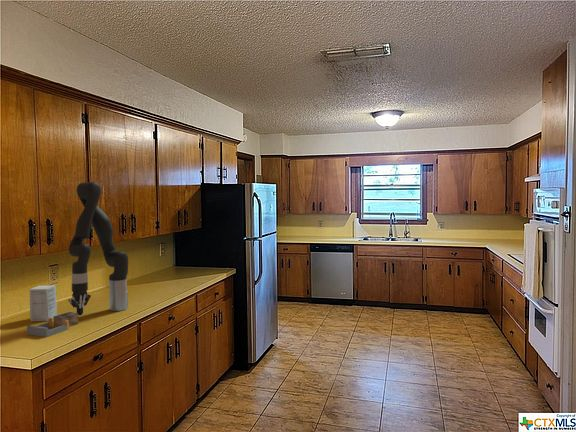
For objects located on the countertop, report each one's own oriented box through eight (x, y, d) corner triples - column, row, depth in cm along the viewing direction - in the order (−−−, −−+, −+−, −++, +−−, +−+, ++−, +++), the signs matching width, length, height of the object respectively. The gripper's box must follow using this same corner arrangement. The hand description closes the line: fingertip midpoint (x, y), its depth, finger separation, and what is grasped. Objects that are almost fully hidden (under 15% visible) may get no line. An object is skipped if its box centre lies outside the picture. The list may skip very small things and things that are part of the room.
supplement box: (57, 316, 228) (56, 285, 228) (48, 321, 219) (47, 288, 218) (39, 316, 228) (38, 285, 227) (29, 321, 219) (28, 289, 218)
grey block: (69, 322, 217) (69, 311, 217) (78, 324, 214) (77, 313, 214) (53, 327, 209) (53, 316, 208) (62, 329, 206) (61, 317, 206)
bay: (49, 326, 210) (49, 317, 210) (69, 329, 206) (68, 320, 206) (27, 334, 198) (26, 325, 198) (46, 337, 194) (46, 327, 194)
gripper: (84, 279, 227) (84, 311, 227) (63, 283, 215) (63, 317, 215) (95, 280, 225) (95, 312, 225) (75, 284, 212) (75, 318, 213)
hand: (79, 314), depth 220 cm, fingers closed
